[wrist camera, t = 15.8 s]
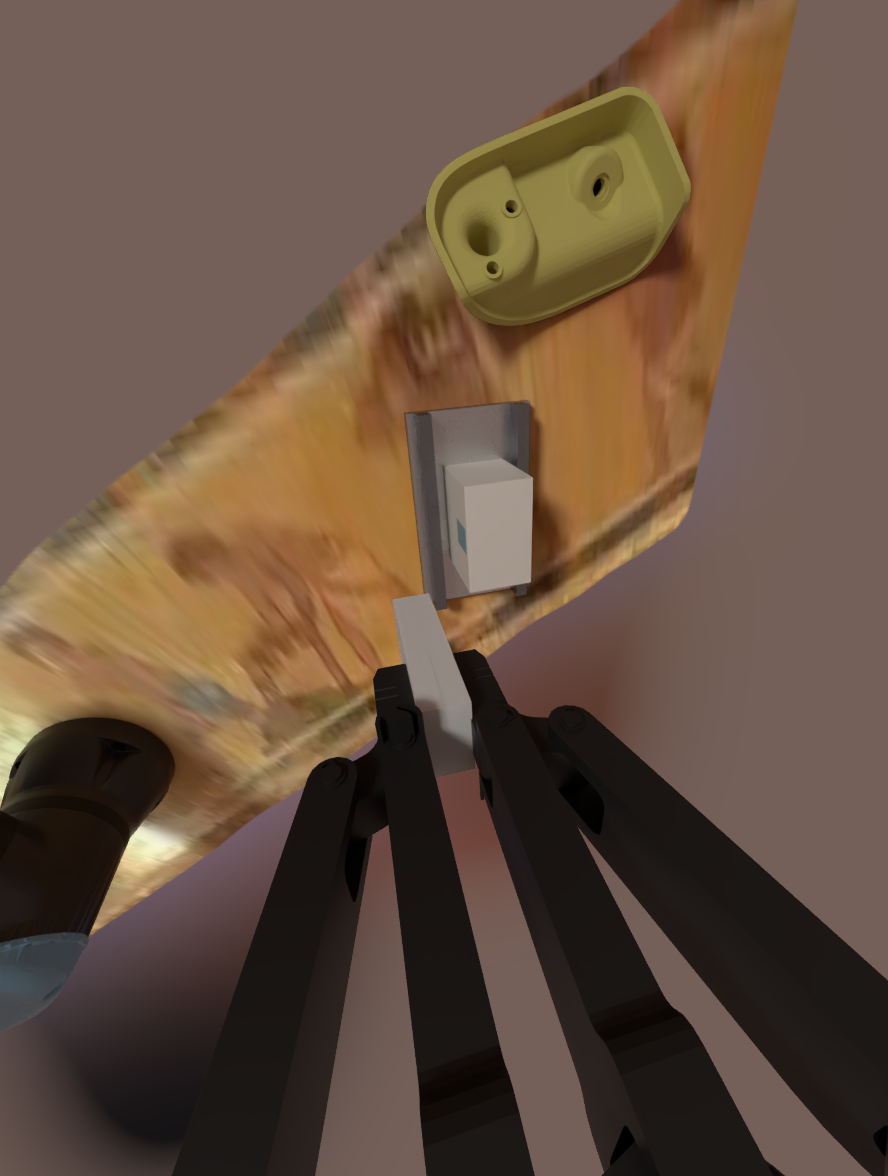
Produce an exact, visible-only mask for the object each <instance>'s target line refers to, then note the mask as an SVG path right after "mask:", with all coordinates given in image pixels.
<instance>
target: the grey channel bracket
mask: <svg viewBox="0 0 888 1176" xmlns="http://www.w3.org/2000/svg"><path fill="white" fill-rule="evenodd" d="M404 418H405V427H406V436H407V445H408V455H409V464H410V473H411V482H412V491H413V500H414V509H415V518H416V527H417V536H418V545H419V554H420V563H421V572H422V582H423V591H424V594H427V593H429V595H430V598H431V601H432V602H433V603H434V605H435V608H436V610H442V609H447V599H452V598H457V597H463V596H469V595H475V594H480V593H486V592H492V591H498V590H503V589H509V588H511V590H512V591H513V592H514V594H515V595H516V596H521V595H527V583H525V584H519V585H513V586H507V587H502V588H496V589H490V590H485V591H479V592H473V593H470V592H469V591H468V589H467V587H466V585H465V584H464V582H463V580H462V578H461V577H460V575H459V573H458V571H457V570H456V568H455V566H454V564H453V563H452V561H451V559H450V546H449V533H448V520H447V507H446V494H445V480H444V467H443V466H449V465H456V464H464V463H472V462H480V461H488V460H495V459H503V460H505V461H507V462H508V463H510V464H512V465H513V466H515V467H517V468H518V469H520V470H521V471H523V472H525V473H526V474H528V475H529V436H530V401H528V400H521V401H511V402H502V403H492V404H483V405H473V406H464V407H454V408H445V409H436V410H426V411H417V412H407V413H404Z"/></svg>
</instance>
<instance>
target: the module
mask: <svg viewBox="0 0 888 1176" xmlns="http://www.w3.org/2000/svg"><path fill="white" fill-rule="evenodd" d="M443 467H444V480H445V494H446V507H447V520H448V533H449V546H450V559H451V561H452V563H453V564H454V566H455V568H456V570H457V571H458V573H459V575H460V577H461V578H462V580H463V582H464V584H465V585H466V587H467V589H468V591H469V592H470V593H473V592H479V591H485V590H490V589H496V588H502V587H507V586H513V585H519V584H525V583H530V582H531V553H532V504H533V477H531V476H530V475H528V474H526V473H525V472H523V471H521V470H520V469H518V468H517V467H515V466H513V465H512V464H510V463H508V462H507V461H505V460H503V459H495V460H488V461H480V462H472V463H464V464H456V465H449V466H443Z"/></svg>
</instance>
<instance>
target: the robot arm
mask: <svg viewBox="0 0 888 1176" xmlns="http://www.w3.org/2000/svg"><path fill="white" fill-rule="evenodd" d="M392 600H393V607H394V614H395V620H396V627H397V634H398V640H399V647H400V654H401V658H402V663H403V664H401V665H396V666H390V667H385V668H380V669H378V670H377V672H376V674H375V676H374V679H373V683H374V691H375V700H376V709H377V717H376V721H375V726H376V731H377V736H378V741H377V743H376V744H375V746H374V748H372V749H371V751H369V752H368V753H367V754H366V755H364V756H362V757H360V758H358V759H357V760H355V761H353V762H352V761H351V760H349V759H347V758H342V757H335V758H330V759H327V760H325V761H323V762H321V763H320V764H318V765H317V766H316V767H315V768H314V769H313V770H312V772H311V773H310V775H309V777H308V779H307V782H306V785H305V788H304V791H303V794H302V797H301V800H300V803H299V805H298V809H297V811H296V814H295V817H294V820H293V823H292V826H291V829H290V832H289V835H288V838H287V840H286V843H285V846H284V850H283V852H282V855H281V858H280V861H279V864H278V867H277V870H276V873H275V876H274V878H273V882H272V884H271V887H270V890H269V893H268V896H267V899H266V902H265V905H264V908H263V911H262V914H261V916H260V919H259V922H258V925H257V928H256V931H255V934H254V937H253V940H252V943H251V946H250V949H249V952H248V955H247V957H246V960H245V963H244V966H243V969H242V972H241V975H240V978H239V981H238V984H237V987H236V990H235V992H234V995H233V998H232V1001H231V1004H230V1007H229V1010H228V1013H227V1016H226V1019H225V1022H224V1025H223V1027H222V1030H221V1034H220V1036H219V1039H218V1042H217V1045H216V1048H215V1051H214V1054H213V1057H212V1060H211V1063H210V1066H209V1068H208V1071H207V1074H206V1077H205V1080H204V1083H203V1086H202V1089H201V1092H200V1095H199V1098H198V1101H197V1104H196V1106H195V1109H194V1112H193V1115H192V1118H191V1121H190V1124H189V1127H188V1130H187V1133H186V1136H185V1139H184V1141H183V1145H182V1147H181V1150H180V1153H179V1156H178V1159H177V1162H176V1165H175V1168H174V1171H173V1174H172V1176H315V1173H316V1167H317V1161H318V1154H319V1149H320V1143H321V1137H322V1131H323V1125H324V1120H325V1114H326V1108H327V1102H328V1096H329V1089H330V1084H331V1078H332V1072H333V1066H334V1060H335V1054H336V1049H337V1043H338V1037H339V1031H340V1025H341V1019H342V1013H343V1007H344V1001H345V996H346V990H347V983H348V978H349V972H350V965H351V960H352V954H353V948H354V942H355V936H356V931H357V925H358V919H359V912H360V907H361V901H362V895H363V889H364V883H365V877H366V871H367V866H368V860H369V854H370V848H371V842H372V835H373V834H374V833H376V832H378V831H379V830H381V829H383V828H384V827H386V826H387V825H389V832H390V840H391V850H392V858H393V866H394V875H395V884H396V893H397V901H398V909H399V919H400V927H401V935H402V944H403V953H404V962H405V970H406V979H407V987H408V996H409V1005H410V1013H411V1022H412V1030H413V1039H414V1048H415V1057H416V1065H417V1074H418V1083H419V1096H420V1117H421V1128H422V1138H423V1148H424V1157H425V1166H426V1174H427V1176H535V1175H534V1171H533V1167H532V1163H531V1159H530V1155H529V1150H528V1146H527V1142H526V1138H525V1134H524V1130H523V1126H522V1122H521V1118H520V1114H519V1110H518V1106H517V1102H516V1098H515V1094H514V1090H513V1087H512V1084H511V1080H510V1076H509V1074H508V1071H507V1069H506V1066H505V1063H504V1060H503V1056H502V1052H501V1048H500V1044H499V1040H498V1035H497V1031H496V1027H495V1023H494V1019H493V1015H492V1010H491V1007H490V1002H489V998H488V994H487V990H486V986H485V982H484V977H483V973H482V969H481V965H480V961H479V956H478V952H477V948H476V944H475V940H474V936H473V931H472V927H471V923H470V919H469V915H468V911H467V906H466V902H465V898H464V894H463V890H462V886H461V882H460V877H459V874H458V869H457V865H456V861H455V857H454V852H453V848H452V844H451V840H450V836H449V832H448V828H447V824H446V819H445V815H444V811H443V807H442V803H441V799H440V794H439V790H438V786H437V782H436V777H440V776H444V775H448V774H452V773H457V772H461V771H465V770H470V769H474V768H475V760H476V763H477V766H478V769H479V780H480V796H481V800H483V799H484V797H485V800H486V803H487V806H488V809H489V812H490V815H491V818H492V821H493V824H494V827H495V830H496V833H497V836H498V839H499V842H500V845H501V848H502V851H503V854H504V857H505V860H506V863H507V866H508V869H509V871H510V874H511V878H512V881H513V883H514V887H515V890H516V893H517V896H518V899H519V901H520V905H521V908H522V911H523V913H524V916H525V919H526V922H527V925H528V928H529V931H530V934H531V937H532V940H533V943H534V946H535V949H536V952H537V955H538V958H539V961H540V964H541V967H542V970H543V973H544V976H545V979H546V982H547V985H548V988H549V991H550V994H551V997H552V1000H553V1003H554V1006H555V1009H556V1012H557V1015H558V1018H559V1021H560V1024H561V1027H562V1030H563V1033H564V1036H565V1039H566V1042H567V1045H568V1048H569V1051H570V1054H571V1056H572V1060H573V1063H574V1066H575V1069H576V1072H577V1075H578V1078H579V1081H580V1085H581V1089H582V1093H583V1098H584V1104H585V1108H586V1114H587V1118H588V1121H589V1125H590V1128H591V1132H592V1136H593V1139H594V1142H595V1145H596V1148H597V1152H598V1154H599V1158H600V1161H601V1164H602V1166H603V1170H604V1174H603V1175H602V1176H784V1175H783V1174H782V1173H781V1172H780V1171H779V1170H777V1169H776V1168H775V1167H774V1166H773V1165H771V1164H770V1163H768V1162H767V1161H766V1160H765V1159H764V1158H763V1156H762V1154H761V1152H760V1150H759V1148H758V1146H757V1144H756V1143H755V1141H754V1139H753V1137H752V1135H751V1133H750V1131H749V1130H748V1127H747V1126H746V1124H745V1122H744V1120H743V1118H742V1116H741V1114H740V1113H739V1111H738V1109H737V1107H736V1105H735V1103H734V1101H733V1099H732V1097H731V1096H730V1094H729V1092H728V1090H727V1088H726V1086H725V1084H724V1082H723V1081H722V1079H721V1077H720V1075H719V1073H718V1071H717V1069H716V1067H715V1066H714V1064H713V1062H712V1060H711V1058H710V1056H709V1054H708V1053H707V1051H706V1049H705V1047H704V1045H703V1043H702V1042H701V1040H700V1038H699V1036H698V1035H697V1033H696V1032H695V1030H694V1028H693V1027H692V1025H691V1024H690V1023H689V1022H688V1020H687V1019H686V1018H685V1016H684V1015H683V1014H681V1013H680V1012H678V1011H677V1010H676V1009H674V1008H673V1007H672V1006H671V1005H670V1004H669V1002H668V1001H667V1000H666V999H665V997H664V995H663V993H662V991H661V990H660V988H659V986H658V984H657V982H656V980H655V978H654V976H653V974H652V972H651V970H650V968H649V966H648V964H647V963H646V961H645V958H644V956H643V954H642V952H641V950H640V948H639V946H638V944H637V943H636V941H635V939H634V937H633V935H632V933H631V931H630V929H629V927H628V925H627V923H626V921H625V919H624V917H623V915H622V913H621V911H620V909H619V907H618V905H617V904H616V901H615V900H614V898H613V896H612V894H611V892H610V890H609V888H608V886H607V884H606V882H605V880H604V878H603V876H602V874H601V872H600V870H599V868H598V866H597V864H596V863H595V860H594V859H593V856H592V855H591V853H590V851H589V849H588V847H587V845H586V843H585V841H584V839H583V837H582V835H581V833H580V831H579V829H580V830H581V831H582V832H583V834H584V835H585V836H586V837H587V838H588V840H589V841H590V842H591V843H592V845H593V846H594V847H595V848H596V850H597V851H598V852H599V853H600V855H601V856H602V857H603V858H604V859H605V861H606V862H607V863H608V864H609V866H610V867H611V868H612V869H613V871H614V872H615V873H616V874H617V875H618V877H619V878H620V879H621V880H622V882H623V883H624V884H625V885H626V887H627V888H628V889H629V890H630V891H631V893H632V894H633V895H634V896H635V898H636V899H637V900H638V901H639V903H640V904H641V905H642V906H643V907H644V909H645V910H646V911H647V912H648V914H649V915H650V916H651V917H652V919H653V920H654V921H655V922H656V923H657V925H658V926H659V927H660V928H661V930H662V931H663V932H664V933H665V935H666V936H667V937H668V938H669V940H670V941H671V942H672V943H673V944H674V946H675V947H676V948H677V949H678V951H679V952H680V953H681V954H682V956H683V957H684V958H685V959H686V960H687V962H688V963H689V964H690V965H691V966H692V968H693V969H694V970H695V972H696V973H697V974H698V975H699V976H700V978H701V979H702V980H703V981H704V983H705V984H706V985H707V986H708V987H709V989H710V990H711V991H712V992H713V994H714V995H715V996H716V997H717V999H718V1000H719V1001H720V1002H721V1004H722V1005H723V1006H724V1007H725V1009H726V1010H727V1011H728V1012H729V1013H730V1015H731V1016H732V1017H733V1018H734V1020H735V1021H736V1022H737V1023H738V1025H739V1026H740V1027H741V1028H742V1029H743V1031H744V1032H745V1033H746V1034H747V1035H748V1037H749V1038H750V1039H751V1041H752V1042H753V1043H754V1044H755V1045H756V1047H757V1048H758V1049H759V1050H760V1052H761V1053H762V1054H763V1055H764V1056H765V1058H766V1059H767V1060H768V1061H769V1063H770V1064H771V1065H772V1066H773V1068H774V1069H775V1070H776V1071H777V1073H778V1074H779V1075H780V1076H781V1078H782V1079H783V1080H784V1081H785V1082H786V1084H787V1085H788V1086H789V1087H790V1089H791V1090H792V1091H793V1092H794V1093H795V1094H796V1096H797V1097H798V1098H799V1099H800V1100H801V1101H802V1102H803V1104H804V1105H805V1106H806V1107H807V1108H808V1109H809V1111H810V1112H811V1113H812V1114H813V1115H814V1116H815V1117H816V1119H817V1120H818V1121H819V1122H820V1123H821V1125H822V1126H823V1127H824V1128H825V1129H826V1130H827V1131H828V1132H829V1133H830V1134H831V1135H832V1136H833V1137H834V1138H835V1139H836V1140H837V1141H838V1142H839V1143H840V1144H841V1145H842V1146H843V1147H844V1148H845V1149H846V1150H847V1151H848V1152H849V1153H850V1154H851V1156H853V1158H854V1159H855V1160H856V1161H857V1162H858V1163H859V1164H860V1165H861V1166H862V1167H863V1168H864V1169H866V1170H867V1171H868V1172H869V1173H870V1174H871V1175H872V1176H888V980H887V979H886V978H884V977H883V976H882V975H881V974H880V973H879V972H878V971H877V970H875V969H874V968H873V967H872V966H871V965H870V964H869V963H868V962H867V961H865V960H864V959H863V958H862V957H861V956H860V955H859V954H858V953H857V952H855V951H854V950H853V949H852V948H851V947H850V946H849V945H848V944H847V943H845V942H844V941H843V940H842V939H841V938H840V937H838V935H837V934H835V933H834V932H833V931H832V930H831V929H830V928H829V927H828V926H827V925H825V924H824V923H823V922H822V921H821V920H820V919H819V918H818V917H816V916H815V915H814V914H813V913H812V912H811V911H810V910H809V909H808V908H806V907H805V906H804V905H803V904H802V903H801V902H800V901H799V900H797V899H796V898H795V897H794V896H793V895H792V894H791V893H790V892H789V891H788V890H786V889H785V888H784V887H783V886H782V885H781V884H780V883H778V881H776V880H775V879H774V878H773V877H772V876H771V875H770V874H768V873H767V872H766V871H765V870H764V869H763V868H762V867H761V866H760V865H759V864H757V863H756V862H755V861H754V860H753V859H752V858H751V857H750V856H749V855H747V854H746V853H745V852H744V851H743V850H742V849H741V848H740V847H739V846H737V845H736V844H735V843H734V842H733V841H732V840H731V839H730V838H728V837H727V836H726V835H725V834H724V833H723V832H722V831H721V830H720V829H718V828H717V827H716V826H715V825H714V824H713V823H712V822H711V821H710V820H708V819H707V818H706V817H705V816H704V815H703V814H702V813H701V812H699V811H698V810H697V809H696V808H695V807H694V806H693V805H691V803H689V802H688V801H687V800H686V799H685V798H684V797H683V796H682V795H680V794H679V793H678V792H677V791H676V790H675V789H674V788H673V787H672V786H670V785H669V784H668V783H667V782H666V781H665V780H664V779H663V778H662V777H660V776H659V775H658V774H657V773H656V772H655V771H654V770H653V769H652V768H650V767H649V766H648V765H647V764H646V763H645V762H644V761H643V760H641V759H640V758H639V757H638V756H637V755H636V754H635V753H634V752H633V751H632V750H630V749H629V748H628V747H627V746H626V745H625V744H624V743H623V742H622V741H620V740H619V739H618V738H617V737H616V736H615V735H614V734H613V733H611V732H610V731H609V730H608V729H607V728H606V727H605V726H604V725H603V724H601V723H600V722H599V721H598V720H597V719H596V718H595V717H594V716H592V715H591V714H590V713H589V712H587V711H586V710H584V709H582V708H580V707H576V706H569V705H564V706H561V707H557V708H556V709H554V710H553V711H551V713H550V715H549V718H540V717H529V716H525V715H522V714H519V713H518V711H517V710H516V709H515V708H513V707H511V706H510V705H509V704H508V703H507V701H506V699H505V697H504V695H503V693H502V691H501V689H500V687H499V685H498V683H497V681H496V679H495V677H494V676H493V673H492V671H491V669H490V668H489V665H488V663H487V661H486V659H485V657H484V656H483V655H482V654H480V653H479V652H478V651H476V650H475V649H473V650H468V651H463V652H458V653H453V654H452V651H451V649H450V646H449V644H448V641H447V639H446V636H445V634H444V631H443V628H442V626H441V623H440V621H439V618H438V616H437V613H436V611H435V608H434V606H433V603H432V601H431V598H430V595H429V593H427V594H421V595H416V596H410V597H404V598H398V599H392ZM174 767H175V766H174V760H173V757H172V754H171V752H170V751H169V749H168V748H167V746H166V745H165V744H164V743H163V742H162V741H161V740H160V739H159V738H157V737H156V736H155V735H153V734H152V733H150V732H149V731H147V730H145V729H143V728H141V727H138V726H136V725H133V724H130V723H127V722H123V721H119V720H113V719H106V718H81V719H73V720H68V721H64V722H60V723H57V724H55V725H52V726H50V727H48V728H46V729H44V730H42V731H41V732H39V733H38V734H37V735H35V736H34V737H33V738H32V739H31V740H30V741H29V743H28V744H27V745H26V746H25V748H24V749H23V750H22V751H21V753H20V754H19V755H18V757H17V758H16V760H15V762H14V764H13V766H12V769H11V772H10V776H9V781H8V783H7V786H6V789H5V793H4V796H3V800H2V803H1V807H0V1032H1V1031H4V1030H6V1029H9V1028H11V1027H14V1026H16V1025H18V1024H21V1023H22V1022H25V1021H26V1020H28V1019H30V1018H32V1017H33V1016H35V1015H37V1014H38V1013H39V1012H41V1011H42V1010H43V1009H45V1008H46V1007H47V1006H48V1005H50V1003H52V1002H53V1001H54V1000H55V998H56V997H57V996H58V995H59V994H60V992H61V991H62V989H63V988H64V986H65V984H66V982H67V980H68V979H69V976H70V974H71V973H72V971H73V969H74V967H75V965H76V963H77V961H78V959H79V957H80V955H81V953H82V951H83V950H84V949H85V948H86V946H87V943H88V941H89V939H88V937H89V934H90V932H91V930H92V927H93V925H94V922H95V920H96V918H97V915H98V913H99V910H100V908H101V906H102V903H103V901H104V899H105V896H106V894H107V891H108V889H109V887H110V884H111V882H112V879H113V877H114V875H115V872H116V870H117V868H118V865H119V863H120V860H121V858H122V856H123V853H124V851H125V849H126V846H127V844H128V842H129V839H130V837H131V836H132V835H133V834H134V832H135V831H136V830H137V829H138V827H139V826H140V825H141V823H142V822H143V821H144V820H145V818H146V817H147V816H148V815H149V813H150V812H151V811H153V810H154V809H155V808H156V807H157V806H158V805H159V803H160V802H161V801H162V800H163V798H164V796H165V795H166V793H167V791H168V788H169V786H170V783H171V781H172V778H173V775H174ZM577 826H578V827H579V829H578V827H577Z"/></svg>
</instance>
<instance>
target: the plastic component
mask: <svg viewBox="0 0 888 1176" xmlns="http://www.w3.org/2000/svg"><path fill="white" fill-rule="evenodd" d="M598 179H600V180H601V189H600V191H599V193H598V194H597V195H596V196H594V194H593V187H594V184H595V182H596V181H597V180H598ZM690 194H691V185H690V180H689V178H688V175H687V173H686V170H685V168H684V165H683V163H682V161H681V158H680V156H679V153H678V151H677V148H676V146H675V144H674V141H673V139H672V136H671V134H670V131H669V129H668V127H667V124H666V122H665V119H664V117H663V115H662V112H661V110H660V107H659V106H658V104H657V102H656V101H655V100H654V99H653V98H652V97H651V96H650V95H649V94H648V93H647V92H645V91H643V90H641V89H638V88H635V87H622V88H619V89H616V90H614V91H611V92H609V93H606V94H604V95H602V96H599V97H597V98H594V99H592V100H590V101H587V102H585V103H582V104H580V105H577V106H575V107H573V108H570V109H568V110H565V111H563V112H561V113H558V114H556V115H553V116H551V117H548V118H546V119H544V120H541V121H539V122H536V123H534V124H532V125H529V126H527V127H524V128H522V129H520V130H517V131H515V132H512V133H510V134H507V135H505V136H503V137H500V138H498V139H495V140H493V141H491V142H489V143H487V144H484V145H482V146H480V147H477V148H475V149H473V150H471V151H469V152H467V153H465V154H464V155H462V156H460V157H459V158H457V159H455V160H454V161H452V162H451V163H450V164H449V165H448V166H446V167H445V168H444V169H443V170H442V171H441V172H440V174H439V175H438V176H437V178H436V179H435V181H434V182H433V185H432V187H431V189H430V192H429V195H428V199H427V205H426V221H427V227H428V231H429V234H430V237H431V239H432V242H433V244H434V246H435V248H436V251H437V253H438V255H439V257H440V259H441V261H442V263H443V265H444V266H445V268H446V270H447V272H448V275H449V277H450V279H451V281H452V283H453V285H454V287H455V289H456V291H457V293H458V295H459V297H460V299H461V301H462V303H463V304H464V306H465V307H466V308H467V310H468V311H469V312H470V313H471V314H473V315H474V316H475V317H476V318H478V319H480V320H482V321H485V322H488V323H491V324H495V325H503V326H515V325H524V324H529V323H534V322H537V321H541V320H544V319H547V318H549V317H552V316H555V315H557V314H560V313H562V312H564V311H566V310H568V309H571V308H573V307H575V306H577V305H579V304H582V303H584V302H586V301H588V300H590V299H593V298H595V297H597V296H599V295H601V294H604V293H606V292H608V291H610V290H612V289H615V288H617V287H619V286H621V285H623V284H626V283H627V282H629V281H630V280H632V279H633V278H635V277H636V276H637V275H638V274H640V273H641V272H642V271H643V270H644V269H645V268H646V267H647V266H648V265H649V264H650V263H651V262H652V261H653V260H654V259H655V257H656V256H657V255H658V253H659V252H660V250H661V249H662V247H663V245H664V244H665V242H666V240H667V239H668V237H669V235H670V234H671V232H672V230H673V229H674V227H675V225H676V224H677V222H678V220H679V219H680V217H681V215H682V214H683V212H684V210H685V209H686V207H687V205H688V202H689V200H690ZM508 207H510V208H511V209H512V211H513V213H509V212H508V211H507V210H506V208H508Z"/></svg>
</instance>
